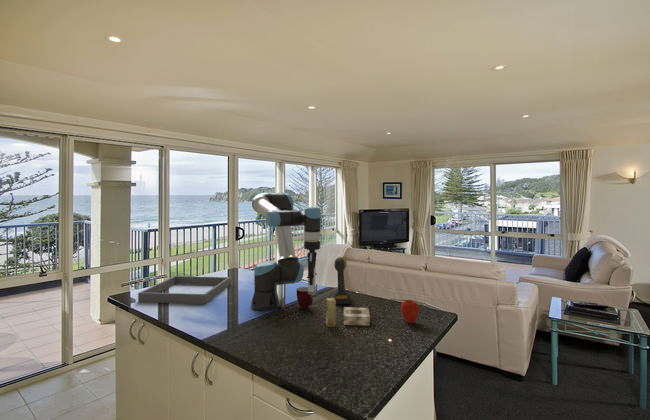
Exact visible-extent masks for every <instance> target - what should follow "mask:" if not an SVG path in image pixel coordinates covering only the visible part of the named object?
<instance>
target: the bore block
mask: <svg viewBox="0 0 650 420" xmlns="http://www.w3.org/2000/svg"><path fill="white" fill-rule="evenodd" d="M343 326H371V316H370V310H369V307H351V306H350V307H349V306H344V307H343Z"/></svg>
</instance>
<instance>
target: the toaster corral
mask: <svg viewBox="0 0 650 420" xmlns="http://www.w3.org/2000/svg"><path fill="white" fill-rule="evenodd" d="M175 285H195V286H196V285H202V286H213V287H212V288H211V289H208V290H207V291H206V292H205V293H184V292H183V293H179V292H178V293H177V292H175V293H174V292H163V291H165V290H168V289H169V288H171V287H173V286H175ZM229 285H230V286H231V277H230V276H197V275H196V276H193V275H191V276H190V275H187V276H185V275H184V276H183V275H174V276H172V277H170V278H168V279H165V280H163V281H161V282H158V283H157V284H156V283H155V285H152V286H150V287H148V288H146V289H143V290H141V291H139V292H138V293H137V301H138V303H156V304H157V303H159V304H163V303H166V304H188V305H189V304H190V305H191V304H193V305H195V304H196V305H197V304H198V305H206V304H208V303H209V302H210V301H212V300H213V299H215V297H217V296H218V295H219V294H220V293H222V292H223V291H224V290H226V289H227V288H229ZM225 288H226V289H225ZM221 291H222V292H221ZM216 295H217V296H216Z"/></svg>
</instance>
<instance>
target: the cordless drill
mask: <svg viewBox="0 0 650 420" xmlns="http://www.w3.org/2000/svg"><path fill="white" fill-rule="evenodd" d="M333 265H334V268H335V271H336V272H337V290H335V292H334V297H333V298H334V299H335V300H336V305H350V303H351V301H350V300H351V297H350V296H351V294H350V292H349V290H348V289H346V286H345V273H344V272H345V269H346V267H347V260H346V258H344V257H343V256H342V257H341V256H338V257H336V258H335V259H334V264H333Z"/></svg>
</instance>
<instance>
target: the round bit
mask: <svg viewBox="0 0 650 420" xmlns="http://www.w3.org/2000/svg"><path fill="white" fill-rule="evenodd" d="M316 270H317V269H316V267H315V268H314V292H308V294H310V295H313V296H314V295H315V294H316V275H315V273H317V271H316Z"/></svg>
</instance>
